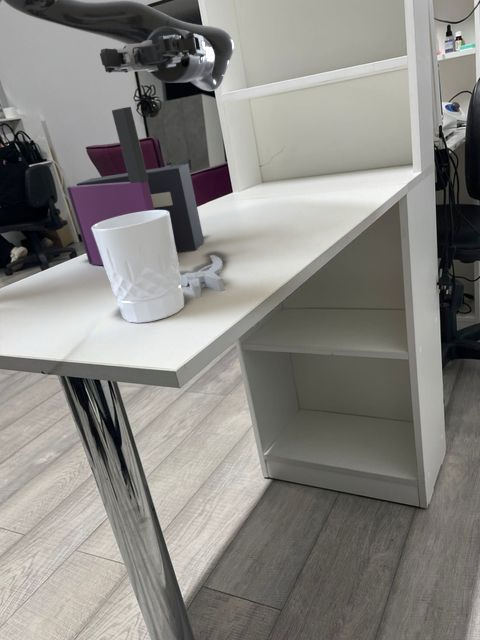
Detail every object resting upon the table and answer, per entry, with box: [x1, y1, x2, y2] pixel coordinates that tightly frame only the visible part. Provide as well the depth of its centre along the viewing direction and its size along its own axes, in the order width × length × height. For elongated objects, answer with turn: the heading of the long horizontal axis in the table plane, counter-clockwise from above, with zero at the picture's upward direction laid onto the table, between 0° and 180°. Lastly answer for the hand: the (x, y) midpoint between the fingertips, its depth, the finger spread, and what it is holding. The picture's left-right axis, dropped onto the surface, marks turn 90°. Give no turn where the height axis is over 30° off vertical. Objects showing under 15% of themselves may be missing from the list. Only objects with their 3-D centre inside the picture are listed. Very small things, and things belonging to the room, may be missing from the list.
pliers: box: [180, 254, 226, 298], centre depth 67 cm, size 10×2×15 cm
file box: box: [76, 163, 205, 254], centre depth 83 cm, size 16×5×12 cm, turn 81°
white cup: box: [91, 210, 185, 324], centre depth 56 cm, size 8×8×10 cm
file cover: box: [66, 106, 154, 266], centre depth 75 cm, size 17×1×20 cm, turn 52°
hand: (132, 51), depth 72 cm, fingers open, 8 cm apart
